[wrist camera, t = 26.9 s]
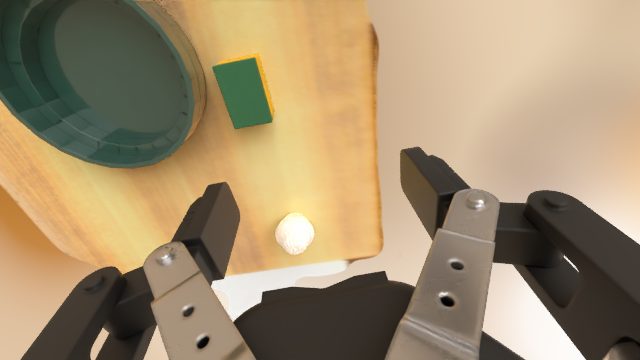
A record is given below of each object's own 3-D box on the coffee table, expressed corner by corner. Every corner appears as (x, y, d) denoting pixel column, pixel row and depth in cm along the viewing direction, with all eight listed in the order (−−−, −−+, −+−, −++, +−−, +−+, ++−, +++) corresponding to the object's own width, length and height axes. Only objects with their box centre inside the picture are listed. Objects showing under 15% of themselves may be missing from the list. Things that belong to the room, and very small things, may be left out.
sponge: (221, 61, 31) (211, 66, 28) (258, 53, 31) (254, 58, 28) (240, 118, 35) (234, 129, 31) (274, 111, 35) (272, 122, 31)
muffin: (297, 198, 42) (298, 228, 36) (320, 221, 45) (324, 252, 39) (268, 218, 44) (264, 249, 38) (292, 238, 47) (291, 271, 41)
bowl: (-28, -7, 26) (-90, -11, 22) (160, -47, 26) (133, -58, 22) (93, 161, 37) (66, 181, 32) (229, 135, 36) (220, 152, 32)
